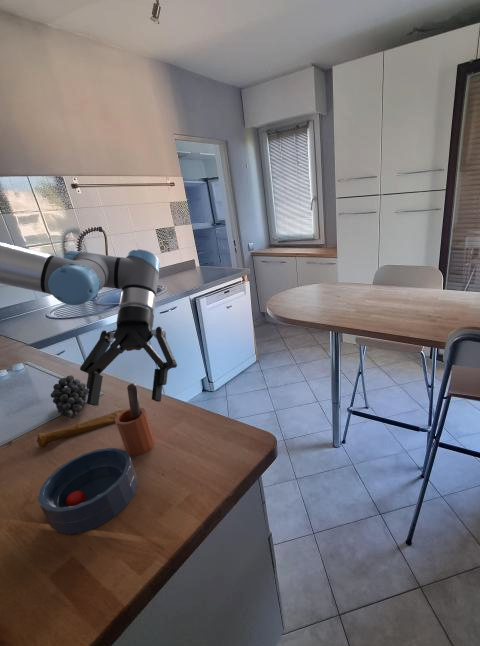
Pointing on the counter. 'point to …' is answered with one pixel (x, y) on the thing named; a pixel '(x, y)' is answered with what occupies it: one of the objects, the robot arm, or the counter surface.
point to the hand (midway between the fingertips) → (124, 402)
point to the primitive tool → (76, 429)
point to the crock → (135, 432)
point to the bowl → (89, 490)
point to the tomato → (75, 498)
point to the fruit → (69, 396)
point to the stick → (133, 401)
